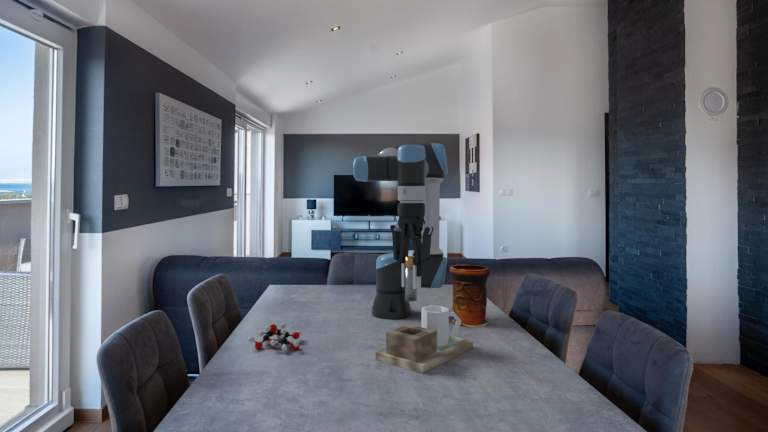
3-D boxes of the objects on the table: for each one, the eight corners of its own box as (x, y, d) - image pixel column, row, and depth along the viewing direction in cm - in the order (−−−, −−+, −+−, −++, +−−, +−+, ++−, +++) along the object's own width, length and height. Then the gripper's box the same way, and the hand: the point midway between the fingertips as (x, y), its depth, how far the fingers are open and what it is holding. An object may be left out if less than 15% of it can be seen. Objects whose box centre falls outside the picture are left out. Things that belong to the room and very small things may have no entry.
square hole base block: (375, 359, 129) (375, 330, 129) (428, 336, 149) (428, 312, 148) (422, 373, 119) (422, 342, 118) (472, 347, 139) (473, 321, 138)
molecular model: (275, 335, 150) (315, 330, 145) (259, 367, 140) (302, 363, 135) (260, 313, 145) (301, 307, 140) (243, 344, 135) (287, 338, 130)
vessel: (440, 321, 166) (441, 266, 165) (462, 314, 176) (463, 262, 176) (474, 330, 156) (476, 271, 155) (496, 322, 167) (497, 267, 166)
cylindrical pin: (402, 300, 127) (402, 256, 127) (409, 298, 130) (409, 255, 129) (412, 301, 125) (412, 257, 125) (419, 299, 128) (419, 256, 127)
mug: (424, 347, 132) (424, 313, 132) (418, 337, 141) (418, 305, 140) (464, 345, 134) (465, 311, 134) (456, 336, 143) (456, 304, 142)
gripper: (379, 201, 129) (380, 285, 130) (427, 202, 118) (427, 293, 119) (396, 201, 134) (396, 281, 136) (444, 202, 124) (443, 289, 125)
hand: (411, 287), depth 127 cm, fingers closed on cylindrical pin, 3 cm apart
